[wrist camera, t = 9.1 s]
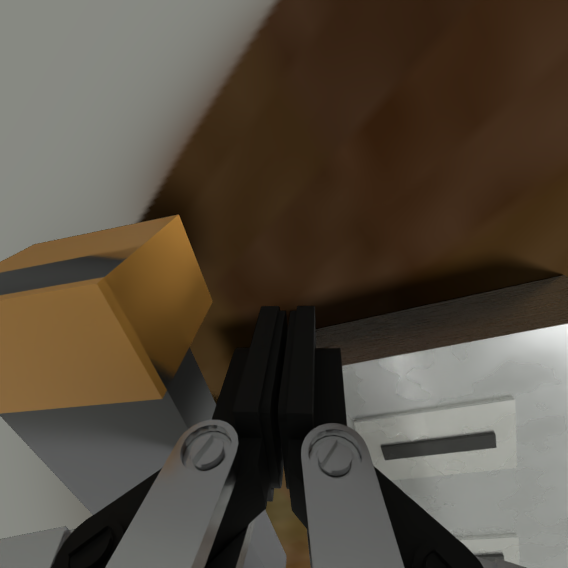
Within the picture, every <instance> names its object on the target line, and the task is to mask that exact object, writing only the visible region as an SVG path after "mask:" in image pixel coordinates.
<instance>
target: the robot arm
mask: <svg viewBox="0 0 568 568" xmlns="http://www.w3.org/2000/svg"><path fill="white" fill-rule="evenodd" d="M283 466H284V471H285V479H286V487H287V489H289V490H290V498H291V507H292V511H293V512H294V513H295V515H296V516H297V517H298V518H299V520H300V521H301V522H302V523H303V525H304V526H305V527H306V528H307V536H308V545H309V555H310V565H311V568H526V567H523V566H520V565H517V564H514V563H511V562H508V561H504V560H501V559H498V558H496V559H495V561H494V562H492V561H489V560H486V559H483V558H480V557H477V556H475V555H474V554H473V553H472V552H471V551H470V550H469V549H468V548H467V547H466V546H465V545H464V544H463V543H462V542H460V541H459V540H458V539H457V538H456V537H455V536H454V535H452V534H451V533H450V532H449V531H448V530H447V529H446V528H444V527H443V526H442V525H441V524H440V523H439V522H438V521H436V520H435V519H434V518H433V517H432V516H431V515H430V514H428V513H427V512H426V511H425V510H424V509H423V508H422V507H420V506H419V505H418V504H417V503H416V502H415V501H414V500H412V499H411V498H410V497H409V496H408V495H407V494H406V493H404V492H403V491H402V490H401V489H400V488H399V487H398V486H396V485H395V484H394V483H393V482H392V481H391V480H389V479H388V478H387V477H386V476H385V475H384V474H383V473H381V472H380V471H379V470H378V469H377V468H376V467H375V466H373V463H372V459H371V456H370V453H369V449H368V447H367V445H366V443H365V441H364V439H363V438H362V437H361V436H360V435H359V434H358V433H357V432H356V431H355V430H353V429H351V428H350V427H348V426H347V418H346V406H345V394H344V383H343V371H342V359H341V349H340V348H316V327H315V306H297V311H290V319H289V326H288V328H287V316H286V311H280V308H279V306H262V307H261V309H260V313H259V317H258V320H257V324H256V328H255V331H254V335H253V339H252V342H251V346H250V348H236V349H235V351H234V353H233V356H232V359H231V362H230V365H229V368H228V371H227V374H226V377H225V380H224V383H223V386H222V389H221V392H220V395H219V398H218V401H217V404H216V407H215V410H214V413H213V416H212V419H211V420H206V421H202V422H199V423H197V424H195V425H193V426H192V427H190V428H189V429H188V430H187V431H186V432H184V433H183V435H182V436H181V437H180V439H179V440H178V441H177V443H176V445H175V446H174V448H173V450H172V452H171V453H170V455H169V457H168V459H167V460H166V462H165V464H164V466H163V467H162V468H161V469H160V470H158V471H157V472H156V473H154V474H153V475H151V476H150V477H148V478H147V479H145V480H144V481H142V482H141V483H139V484H138V485H137V486H135V487H134V488H132V489H131V490H129V491H128V492H126V493H125V494H123V495H122V496H120V497H119V498H118V499H116V500H115V501H113V502H112V503H110V504H109V505H107V506H106V507H104V508H103V509H102V510H100V511H99V512H97V513H96V514H94V515H93V516H91V517H90V518H88V519H87V520H86V521H84V522H83V523H82V524H81V525H80V526H78V527H77V528H76V529H72V530H69V529H68V528H67V527H66V526H64V527H59V528H54V529H49V530H44V531H39V532H34V533H29V534H24V535H19V536H14V537H9V538H4V539H0V568H243V565H244V561H245V558H246V554H247V551H248V547H249V544H250V540H251V537H252V533H253V529H254V524H255V518H256V517H257V516H258V515H259V514H261V513H262V512H263V511H264V510H265V509H266V505H267V501H273V493H274V488H281V485H282V476H283Z"/></svg>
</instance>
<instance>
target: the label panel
mask: <svg viewBox="0 0 568 568" xmlns="http://www.w3.org/2000/svg"><path fill="white" fill-rule="evenodd" d="M316 348H340V349H341V359H342V371H343V383H344V394H345V406H346V418H347V426H348V427H350V428H351V429H353V430H355V431H356V432H357V433H358V434H359V435H360V436H361V437H362V438H363V439H364V441H365V443H366V445H367V447H368V449H369V453H370V456H371V459H372V463H373V466H375V467H376V468H377V469H378V470H379V471H380V472H381V473H383V474H384V475H385V476H386V477H387V478H388V479H389V480H391V481H392V482H393V483H394V484H395V485H396V486H398V487H399V488H400V489H401V490H402V491H403V492H404V493H406V494H407V495H408V496H409V497H410V498H411V499H412V500H414V501H415V502H416V503H417V504H418V505H419V506H420V507H422V508H423V509H424V510H425V511H426V512H427V513H428V514H430V515H431V516H432V517H433V518H434V519H435V520H436V521H438V522H439V523H440V524H441V525H442V526H443V527H444V528H446V529H447V530H448V531H449V532H450V533H451V534H452V535H454V536H455V537H456V538H457V539H458V540H459V541H460V542H462V543H463V544H464V545H465V546H466V547H467V548H468V549H469V550H470V551H471V552H472V553H473V554H474V555H475V556H477V557H480V558H483V559H486V560H489V561H492V562H494V561H495V559H496V558H498V559H501V560H504V561H508V562H511V563H514V564H517V565H520V566H523V567H526V568H568V277H566V276H565V275H562V276H558V277H553V278H549V279H544V280H539V281H535V282H530V283H526V284H521V285H517V286H512V287H507V288H503V289H498V290H494V291H489V292H485V293H480V294H475V295H471V296H466V297H462V298H457V299H453V300H448V301H443V302H439V303H434V304H430V305H425V306H421V307H416V308H411V309H407V310H402V311H398V312H393V313H389V314H384V315H379V316H375V317H370V318H366V319H361V320H357V321H352V322H347V323H343V324H338V325H334V326H329V327H325V328H320V329H316Z"/></svg>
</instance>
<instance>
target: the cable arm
mask: <svg viewBox="0 0 568 568" xmlns="http://www.w3.org/2000/svg"><path fill="white" fill-rule="evenodd" d="M212 302H213V301H212V299H211V296H210V293H209V291H208V288H207V286H206V283H205V280H204V278H203V275H202V273H201V270H200V268H199V265H198V262H197V260H196V257H195V255H194V252H193V250H192V247H191V244H190V242H189V239H188V237H187V234H186V232H185V229H184V226H183V224H182V221H181V219H180V216H179V215H174V216H169V217H164V218H160V219H155V220H150V221H145V222H140V223H135V224H131V225H126V226H121V227H116V228H111V229H106V230H101V231H97V232H92V233H87V234H82V235H77V236H72V237H68V238H63V239H58V240H54V241H48V242H43V243H38V244H34V245H32V246H30V247H28V248H26V249H24V250H23V251H20V252H19V253H17V254H15V255H13V256H11V257H9V258H7V259H5V260H3V261H1V262H0V416H1V417H2V418H3V419H4V420H5V421H6V422H7V423H8V425H9V426H11V428H12V429H13V430H14V431H15V432H16V433H17V434H18V435H19V436H20V437H21V438H22V440H23V441H24V442H25V443H26V444H27V445H28V446H29V447H30V448H31V449H32V450H33V451H34V452H35V453H36V454H37V456H38V457H39V458H41V460H42V461H43V462H44V463H45V464H46V465H47V466H48V467H49V468H50V469H51V471H53V473H54V474H55V475H56V476H57V477H58V478H59V479H60V480H61V481H62V482H63V483H64V484H65V486H66V487H68V489H69V490H70V491H71V492H72V493H73V494H74V495H75V496H76V497H77V498H78V499H79V500H80V501H81V502H82V503H83V505H84V506H85V507H86V508H87V509H88V510H89V511H90V512H91V513H92V514H93V515H94V514H96V513H97V512H99V511H100V510H102V509H103V508H104V507H106V506H107V505H109V504H110V503H112V502H113V501H115V500H116V499H118V498H119V497H120V496H122V495H123V494H125V493H126V492H128V491H129V490H131V489H132V488H134V487H135V486H137V485H138V484H139V483H141V482H142V481H144V480H145V479H147V478H148V477H150V476H151V475H153V474H154V473H156V472H157V471H158V470H160V469H161V468H162V467H163V466H164V464H165V462H166V460H167V459H168V457H169V455H170V453H171V452H172V450H173V448H174V446H175V445H176V443H177V441H178V440H179V439H180V437H181V436H182V435H183V433H184V432H186V431H187V430H188V429H189V428H190V427H192V426H193V425H195V424H197V423H199V422H202V421H206V420H211V419H212V416H213V413H214V410H215V407H216V403H215V401H214V399H213V397H212V395H211V393H210V391H209V388H208V386H207V384H206V382H205V380H204V378H203V375H202V373H201V371H200V369H199V367H198V365H197V363H196V360H195V358H194V356H193V354H192V352H191V350H190V345H191V343H192V341H193V339H194V337H195V335H196V333H197V331H198V329H199V327H200V325H201V324H202V322H203V320H204V318H205V316H206V314H207V312H208V310H209V308H210V306H211V304H212ZM243 568H286V554H285V552H284V550H283V548H282V546H281V543H280V541H279V539H278V537H277V535H276V533H275V530H274V528H273V526H272V524H271V522H270V520H269V518H268V515H267V513H266V511H265V510H264V511H263V512H262V513H261V514H259V515H258V516H257V517H256V518H255V524H254V529H253V533H252V537H251V540H250V544H249V547H248V551H247V554H246V558H245V561H244V565H243Z"/></svg>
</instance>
